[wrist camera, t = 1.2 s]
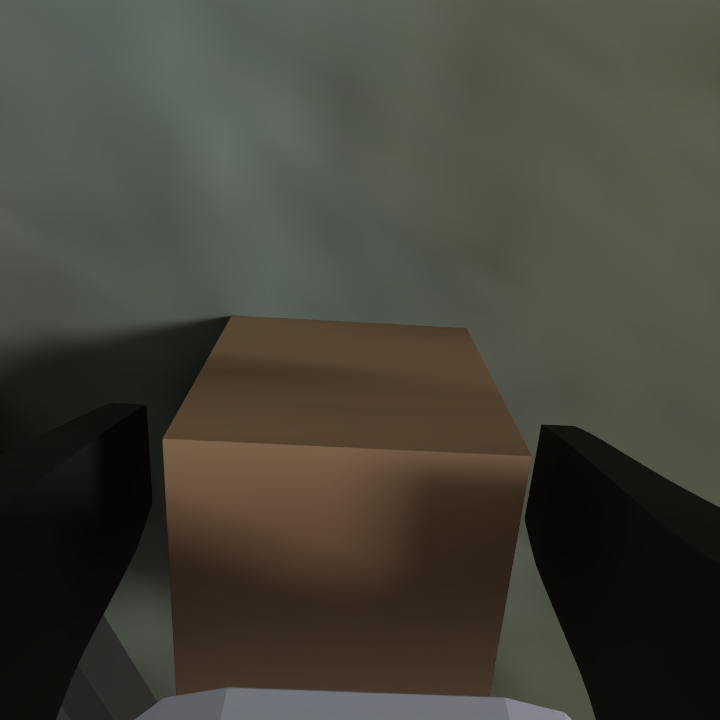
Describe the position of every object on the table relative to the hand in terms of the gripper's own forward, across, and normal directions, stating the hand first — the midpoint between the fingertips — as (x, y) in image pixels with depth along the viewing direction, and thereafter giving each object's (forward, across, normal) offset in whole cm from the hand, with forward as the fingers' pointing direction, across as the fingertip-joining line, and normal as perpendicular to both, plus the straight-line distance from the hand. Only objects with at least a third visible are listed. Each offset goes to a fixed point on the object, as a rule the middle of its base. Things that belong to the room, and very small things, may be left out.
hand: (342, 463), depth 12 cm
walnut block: (+2, 0, 0) cm, 2 cm away
